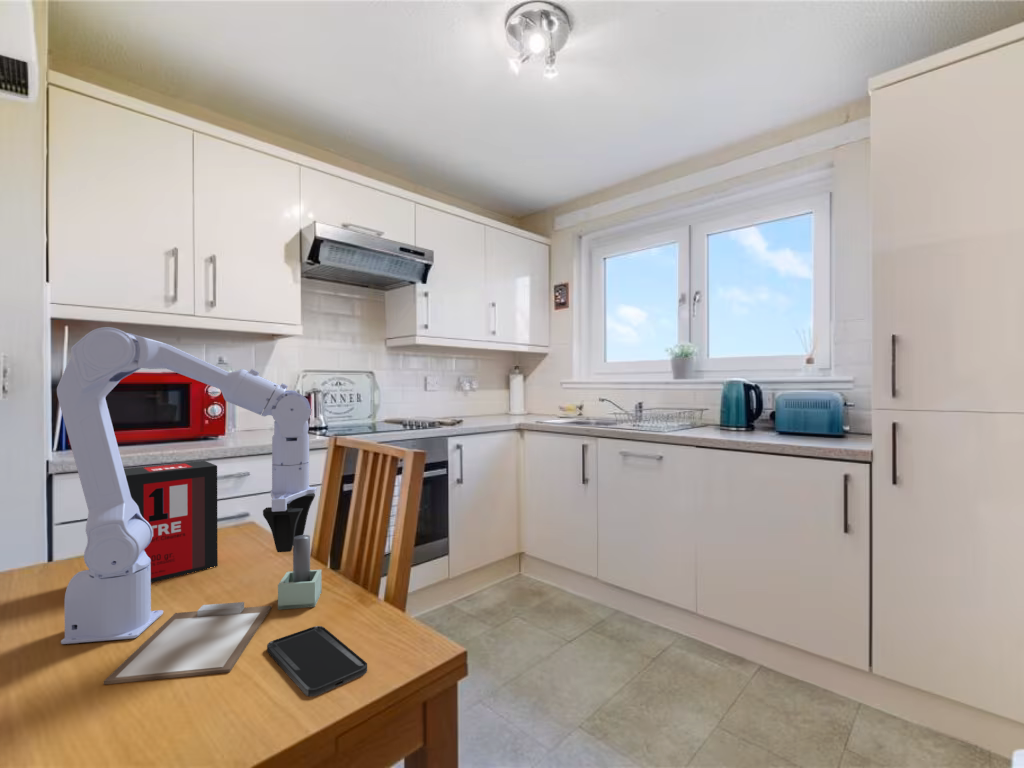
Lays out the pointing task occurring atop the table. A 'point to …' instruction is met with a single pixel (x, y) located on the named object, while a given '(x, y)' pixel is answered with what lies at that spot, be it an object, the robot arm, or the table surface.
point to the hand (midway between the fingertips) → (290, 543)
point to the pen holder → (299, 591)
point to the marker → (301, 558)
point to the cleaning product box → (178, 515)
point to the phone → (316, 660)
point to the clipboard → (193, 644)
